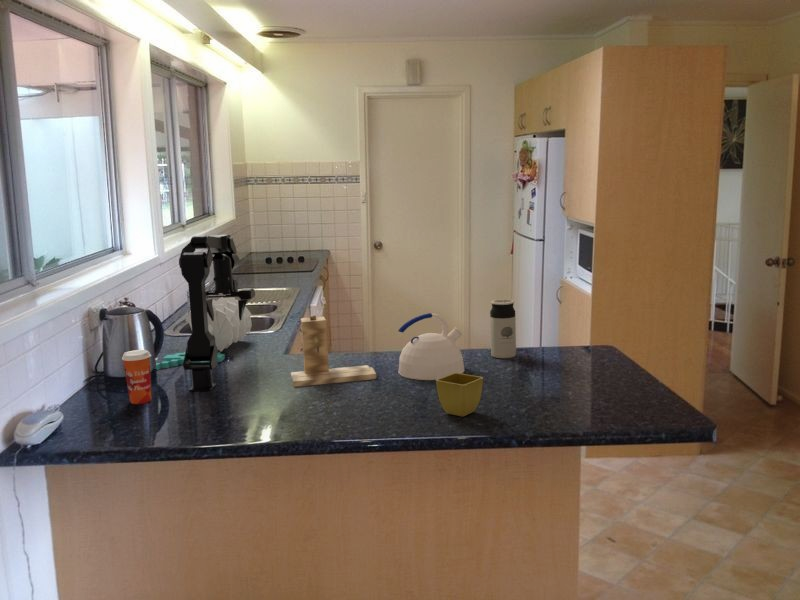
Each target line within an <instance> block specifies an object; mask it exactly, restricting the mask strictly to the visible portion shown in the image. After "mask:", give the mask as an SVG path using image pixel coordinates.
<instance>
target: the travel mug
mask: <svg viewBox="0 0 800 600" xmlns="http://www.w3.org/2000/svg"><path fill="white" fill-rule="evenodd" d="M514 303H515V300H513V299H501V298H500V299H493V300H491V301H490V304H491V306H492V307H491V310H490V311H489V315H490V352H491V354H490V355H491V357H493V358H495V359H512V358H514V357H516V356H517V339H516V338H517V335H516V331H517V329H516V328H517V327H516V310H515V308H514Z"/></svg>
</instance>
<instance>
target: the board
mask: <svg viewBox="0 0 800 600" xmlns="http://www.w3.org/2000/svg"><path fill="white" fill-rule="evenodd" d="M290 375H291V379H292V385H293V387H294V388H295V387H297V388H298V387H306V386H317V385H327V384H335V383H336V384H337V383H347V382H357V381H368V380H376V379H377V372H376V371H375V369H374V368H373V367H371V366H369V365H368V364H367V365H366V364H365V365H356V366H345V367H335V368H334V367H333V368H329V371H327V372H316V373H306V374H304V370H301V371H291V372H290Z"/></svg>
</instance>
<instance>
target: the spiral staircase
mask: <svg viewBox="0 0 800 600" xmlns="http://www.w3.org/2000/svg"><path fill="white" fill-rule="evenodd" d="M238 300H239V299H238ZM238 300H237V299H236V297H218V298H217V300H215V299H213V301H212V306H213V312H214V321H212V320H211V318H210V316H209V314H208V312H207V317H208V330H209V332H210V333H211V335H214V336H215V344H216V346H217V351H218V352H220V353H222V352H223V351H224V350H227V349H228V348H229V347H230V346H231V345H232V344H233V343H238V341H239V340H242V339H244V337H245V336H246V334H247V333H251V328H252V326H253V325H252V318H251V316H253V315H252V313H251V312H250V310H249V309H248V307H246V306H245V309H244V313H243V316H242V320H240V319H239V307H238ZM185 322H186V323H188V324H189V327H190V329H191V331H192V325H191V312H190V311H189V313H188V314H187V317H186V319H185Z"/></svg>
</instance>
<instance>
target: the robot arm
mask: <svg viewBox="0 0 800 600" xmlns="http://www.w3.org/2000/svg"><path fill="white" fill-rule="evenodd" d="M196 250H207V252H206V251H200V252H199V251H198V252H197V251H196ZM178 265H179V268H180V271H181V272H180V273H181V276H182V277H183V278H184V280H185V281H186V282H187V284H188V285H187V286H188V294H189V295H188V298H189V312H191V325H192V330H191V334H190V336H189V338H188V340H187V341H186V349H185V351H186V352H185V351H184V352H185V357H184V362H183V365H182V366H183V369H184V370H183V371H190V373H191V385H192V386H191V387H190V388H188V392H205V391H206V392H210V391H211V390H213V388H215V386H217V383H216V382H213V377H212V376H213V375H212V370H214V369H215V368H216V367H217V366H218V362H217V353H218V352H219V350H217V346H216V344H215V336H214V335H211V333H210V332H209V330H208V317H207V312H208V314H209V316H210V318H211V320H212V321H214V312H213V306H212V301H213V300H214V298H221V297H223V298H233V297H235V298H237V297H238V298H239V299H238V307H239V319H240V320H242V316H243V313H244V309H245V307H246V305H247V303H248V302H249V301H250V300H252V299H253V298H254V297H256V291H255V289H254V288H253V287H249V288H248V287H244V288H241V289H239V282H238V281H237V280H235V279H234V278H235V277H234V274H233V270H235V269H236V268H238V267H239V265H240V258H239V256H238V251H237V248H236V243H235V242H234V238H233V237H232V235H230V234H209V235H207V234H199V235H198V234H197V235H193V236H192V237H191V238H190V242H189V243H188V244H187V245H185V246H184V247H183V248H182V249H181V253H180V255H179V258H178ZM211 266H213V282H214V288H215V289H214V291H212V290H211V289H206V281H207V279H208V277H209V275H210V273H211ZM238 289H239V290H238ZM202 361H210V362H202Z"/></svg>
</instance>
